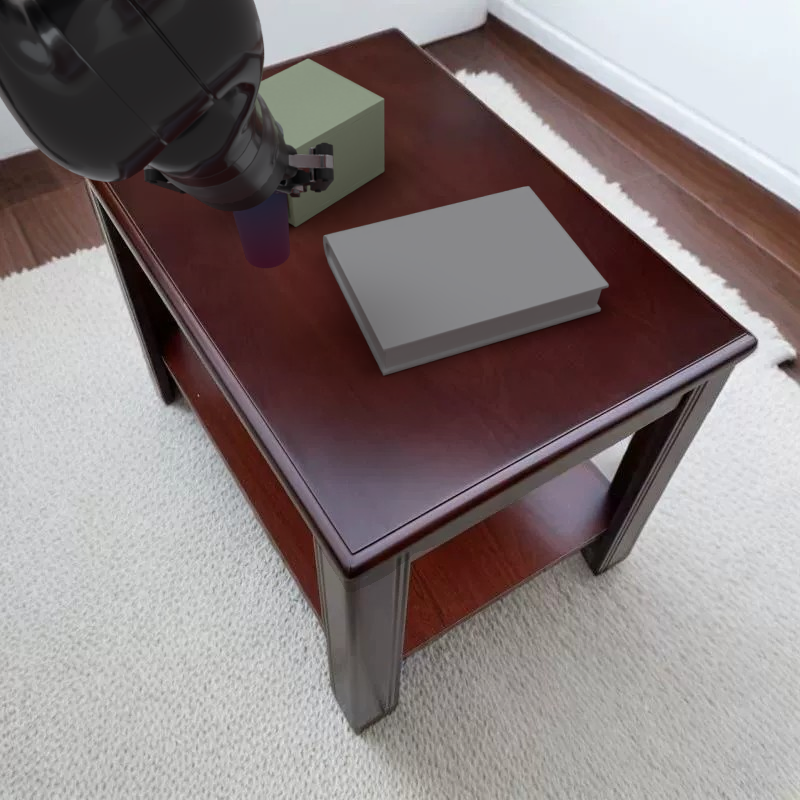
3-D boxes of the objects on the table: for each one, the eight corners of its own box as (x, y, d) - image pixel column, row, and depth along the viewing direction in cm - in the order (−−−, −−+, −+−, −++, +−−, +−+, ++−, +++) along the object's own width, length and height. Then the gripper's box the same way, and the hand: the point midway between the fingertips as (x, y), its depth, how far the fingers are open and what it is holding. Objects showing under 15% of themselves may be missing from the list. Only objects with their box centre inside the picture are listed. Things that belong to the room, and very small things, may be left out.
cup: (257, 282, 63) (235, 162, 54) (225, 249, 66) (198, 129, 57) (309, 257, 66) (297, 137, 56) (277, 225, 68) (259, 106, 59)
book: (609, 284, 73) (383, 349, 67) (600, 311, 76) (383, 376, 70) (523, 179, 83) (321, 228, 77) (519, 207, 86) (324, 255, 80)
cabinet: (295, 227, 83) (286, 153, 75) (225, 180, 88) (210, 106, 80) (384, 171, 90) (384, 98, 82) (314, 130, 95) (308, 58, 87)
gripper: (332, 77, 45) (343, 139, 62) (96, 78, 45) (172, 140, 62) (335, 202, 46) (345, 229, 63) (104, 204, 46) (177, 231, 62)
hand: (259, 185), depth 62 cm, fingers closed on cup, 5 cm apart
